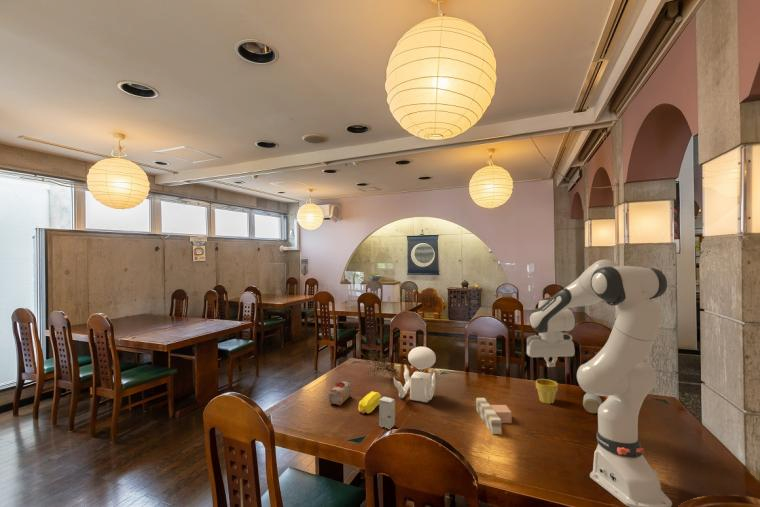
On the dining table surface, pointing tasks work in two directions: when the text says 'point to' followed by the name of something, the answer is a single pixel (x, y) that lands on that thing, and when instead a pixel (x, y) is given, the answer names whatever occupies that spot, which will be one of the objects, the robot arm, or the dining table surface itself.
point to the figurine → (419, 376)
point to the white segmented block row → (488, 416)
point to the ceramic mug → (591, 403)
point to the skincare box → (386, 412)
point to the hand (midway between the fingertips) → (551, 366)
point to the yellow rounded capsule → (369, 402)
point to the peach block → (503, 413)
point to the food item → (339, 393)
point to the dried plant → (375, 362)
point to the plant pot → (546, 390)
